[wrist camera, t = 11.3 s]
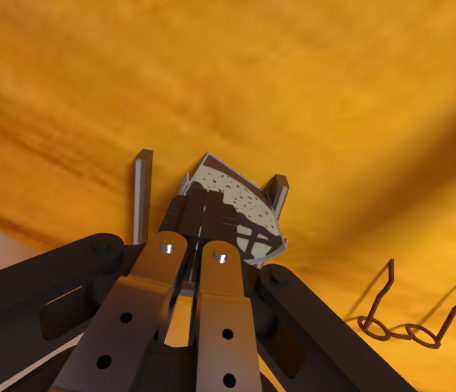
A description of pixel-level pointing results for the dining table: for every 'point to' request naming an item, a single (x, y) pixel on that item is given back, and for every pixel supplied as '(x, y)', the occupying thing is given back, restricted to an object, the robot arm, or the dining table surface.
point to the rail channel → (143, 204)
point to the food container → (241, 209)
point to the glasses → (437, 338)
